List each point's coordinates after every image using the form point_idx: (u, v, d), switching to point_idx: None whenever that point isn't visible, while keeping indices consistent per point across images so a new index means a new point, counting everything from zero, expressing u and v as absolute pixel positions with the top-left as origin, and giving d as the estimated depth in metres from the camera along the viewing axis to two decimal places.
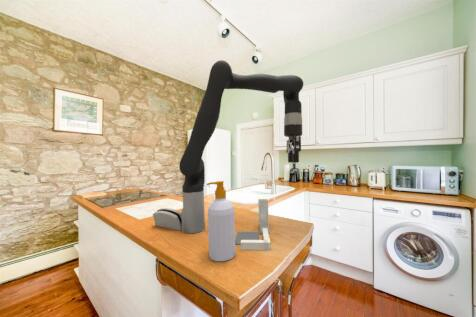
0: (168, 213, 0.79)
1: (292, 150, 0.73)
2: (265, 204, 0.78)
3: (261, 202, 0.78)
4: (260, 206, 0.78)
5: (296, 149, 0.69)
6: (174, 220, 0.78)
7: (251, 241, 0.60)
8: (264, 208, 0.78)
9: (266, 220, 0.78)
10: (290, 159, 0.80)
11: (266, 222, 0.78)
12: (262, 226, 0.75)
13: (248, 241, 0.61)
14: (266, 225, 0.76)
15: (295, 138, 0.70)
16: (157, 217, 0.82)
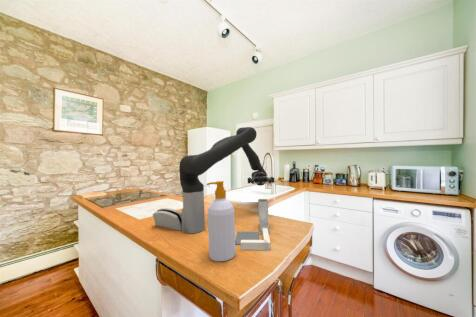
0: (168, 213, 0.79)
1: (267, 178, 0.95)
2: (265, 204, 0.78)
3: (261, 202, 0.78)
4: (260, 206, 0.78)
5: None
6: (174, 220, 0.78)
7: (251, 241, 0.60)
8: (264, 208, 0.78)
9: (266, 220, 0.78)
10: (253, 181, 0.92)
11: (266, 222, 0.78)
12: (262, 226, 0.75)
13: (248, 241, 0.61)
14: (266, 225, 0.76)
15: (272, 177, 0.99)
16: (157, 217, 0.82)
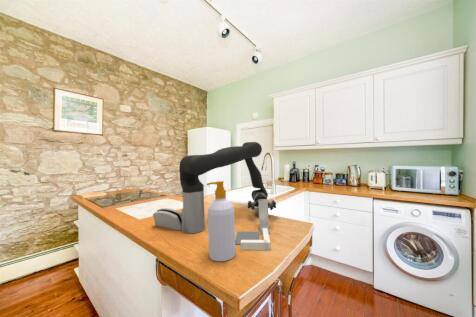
0: (168, 213, 0.79)
1: (268, 203, 0.90)
2: (265, 204, 0.78)
3: (261, 202, 0.78)
4: (260, 206, 0.78)
5: (275, 204, 0.90)
6: (174, 220, 0.78)
7: (251, 241, 0.60)
8: (264, 208, 0.78)
9: (266, 220, 0.78)
10: (254, 207, 0.87)
11: (266, 222, 0.78)
12: (262, 226, 0.75)
13: (248, 241, 0.61)
14: (266, 225, 0.76)
15: None
16: (157, 217, 0.82)
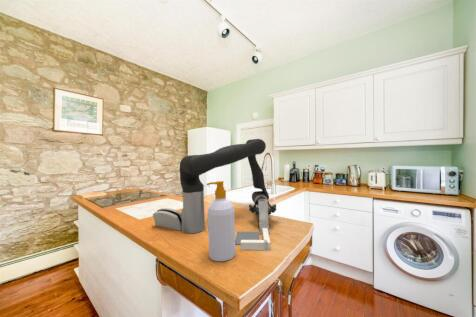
0: (168, 213, 0.79)
1: None
2: (265, 204, 0.78)
3: (261, 202, 0.78)
4: (260, 206, 0.78)
5: (273, 208, 0.82)
6: (174, 220, 0.78)
7: (251, 241, 0.60)
8: (264, 208, 0.78)
9: (266, 220, 0.78)
10: None
11: (266, 222, 0.78)
12: (262, 226, 0.75)
13: (248, 241, 0.61)
14: (266, 225, 0.76)
15: (275, 205, 0.85)
16: (157, 217, 0.82)
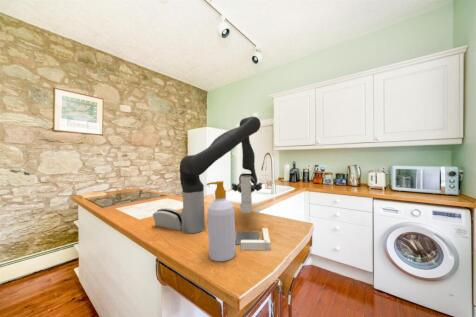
0: (168, 213, 0.79)
1: None
2: (248, 180, 0.70)
3: (243, 178, 0.70)
4: (242, 183, 0.70)
5: None
6: (174, 220, 0.78)
7: (251, 241, 0.60)
8: (247, 185, 0.70)
9: (249, 198, 0.70)
10: None
11: (249, 200, 0.70)
12: (244, 204, 0.67)
13: (248, 241, 0.61)
14: (248, 203, 0.68)
15: (261, 184, 0.78)
16: (157, 217, 0.82)
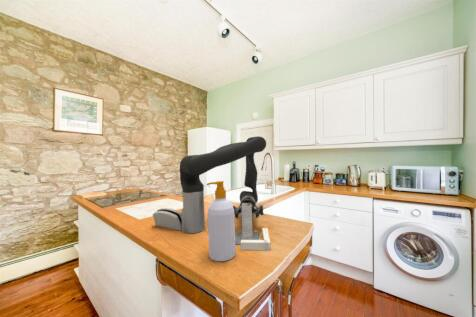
0: (168, 213, 0.79)
1: (254, 208, 0.74)
2: (249, 209, 0.70)
3: (244, 206, 0.70)
4: (243, 211, 0.70)
5: (262, 210, 0.74)
6: (174, 220, 0.78)
7: (251, 241, 0.60)
8: (248, 213, 0.70)
9: (250, 226, 0.70)
10: (238, 214, 0.71)
11: (250, 229, 0.70)
12: (245, 233, 0.67)
13: (248, 241, 0.61)
14: (249, 232, 0.68)
15: (262, 206, 0.79)
16: (157, 217, 0.82)
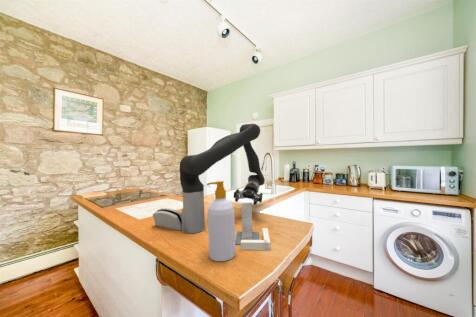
0: (168, 213, 0.79)
1: (254, 196, 0.86)
2: (249, 209, 0.70)
3: (244, 206, 0.70)
4: (243, 211, 0.70)
5: (261, 198, 0.86)
6: (174, 220, 0.78)
7: (251, 241, 0.60)
8: (248, 213, 0.70)
9: (250, 226, 0.70)
10: (238, 198, 0.85)
11: (250, 229, 0.70)
12: (245, 233, 0.67)
13: (248, 241, 0.61)
14: (249, 232, 0.68)
15: (262, 194, 0.90)
16: (157, 217, 0.82)
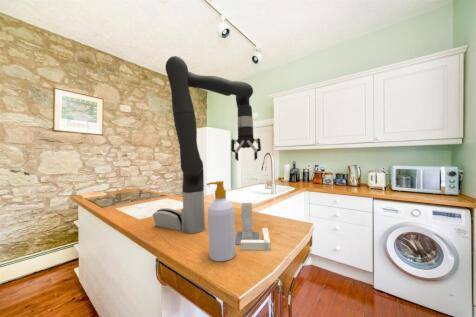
0: (168, 213, 0.79)
1: (253, 149, 0.84)
2: (249, 209, 0.70)
3: (244, 206, 0.70)
4: (243, 211, 0.70)
5: None
6: (174, 220, 0.78)
7: (251, 241, 0.60)
8: (248, 213, 0.70)
9: (250, 226, 0.70)
10: None
11: (250, 229, 0.70)
12: (245, 233, 0.67)
13: (248, 241, 0.61)
14: (249, 232, 0.68)
15: (259, 140, 0.84)
16: (157, 217, 0.82)
